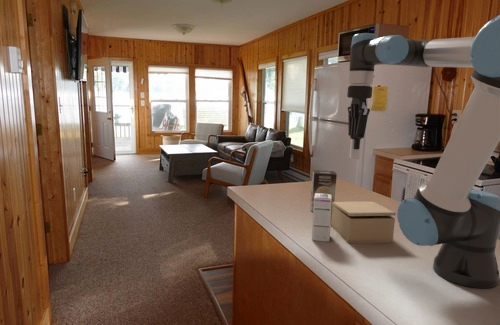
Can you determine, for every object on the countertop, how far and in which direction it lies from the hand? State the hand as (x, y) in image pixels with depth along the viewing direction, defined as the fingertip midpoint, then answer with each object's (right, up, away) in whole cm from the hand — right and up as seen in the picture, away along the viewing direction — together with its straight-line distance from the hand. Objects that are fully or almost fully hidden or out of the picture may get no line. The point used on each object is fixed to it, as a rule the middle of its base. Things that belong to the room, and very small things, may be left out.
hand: (354, 158), depth 119 cm
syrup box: (-11, -26, 0) cm, 29 cm away
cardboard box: (+4, -26, +5) cm, 26 cm away
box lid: (+4, -17, +3) cm, 18 cm away
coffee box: (-5, -21, +30) cm, 37 cm away
